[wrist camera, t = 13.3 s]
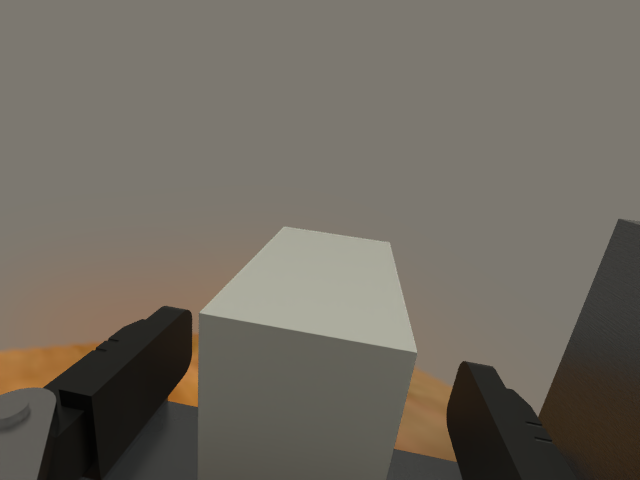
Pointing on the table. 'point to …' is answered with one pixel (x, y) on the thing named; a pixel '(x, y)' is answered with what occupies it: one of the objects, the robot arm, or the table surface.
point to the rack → (556, 414)
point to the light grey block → (305, 363)
